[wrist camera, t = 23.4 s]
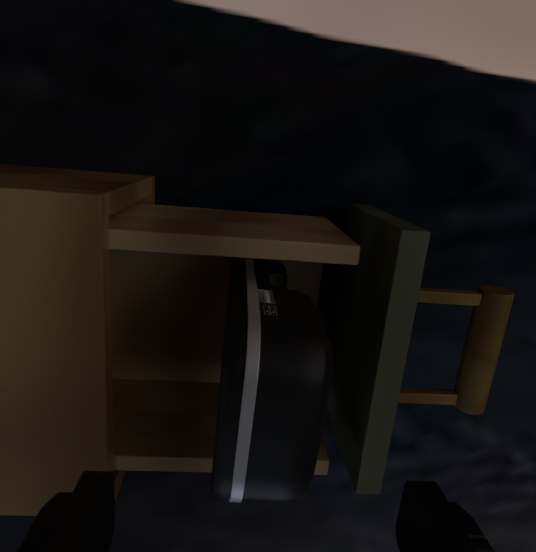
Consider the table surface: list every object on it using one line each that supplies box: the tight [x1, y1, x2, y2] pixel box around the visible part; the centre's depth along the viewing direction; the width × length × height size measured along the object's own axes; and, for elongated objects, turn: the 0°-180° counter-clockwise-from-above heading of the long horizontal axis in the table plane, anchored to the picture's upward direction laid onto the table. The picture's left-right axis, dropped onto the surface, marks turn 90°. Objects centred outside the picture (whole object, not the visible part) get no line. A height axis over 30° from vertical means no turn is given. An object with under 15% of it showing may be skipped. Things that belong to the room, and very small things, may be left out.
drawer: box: [108, 203, 514, 494], centre depth 22 cm, size 22×13×8 cm, turn 85°
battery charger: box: [211, 257, 333, 502], centre depth 19 cm, size 7×4×11 cm, turn 173°
